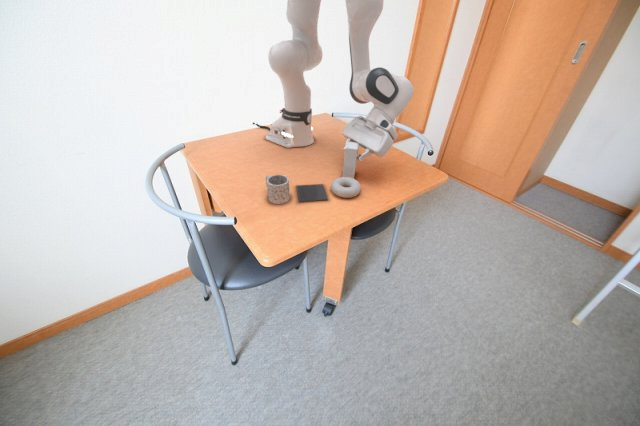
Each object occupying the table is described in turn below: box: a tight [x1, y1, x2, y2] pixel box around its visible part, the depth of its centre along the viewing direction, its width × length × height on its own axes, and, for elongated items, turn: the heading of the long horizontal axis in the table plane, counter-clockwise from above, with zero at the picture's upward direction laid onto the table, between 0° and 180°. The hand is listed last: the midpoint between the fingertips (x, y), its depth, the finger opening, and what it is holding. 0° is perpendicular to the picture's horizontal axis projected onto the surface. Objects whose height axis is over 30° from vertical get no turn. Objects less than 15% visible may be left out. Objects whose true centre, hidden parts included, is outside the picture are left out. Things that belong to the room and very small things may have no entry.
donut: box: [330, 176, 362, 199], centre depth 90 cm, size 10×3×10 cm
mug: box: [265, 174, 291, 205], centre depth 85 cm, size 10×7×7 cm, turn 41°
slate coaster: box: [296, 183, 328, 203], centre depth 89 cm, size 9×9×1 cm
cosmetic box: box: [341, 142, 360, 179], centre depth 95 cm, size 6×4×12 cm
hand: (351, 155), depth 94 cm, fingers closed on cosmetic box, 6 cm apart
